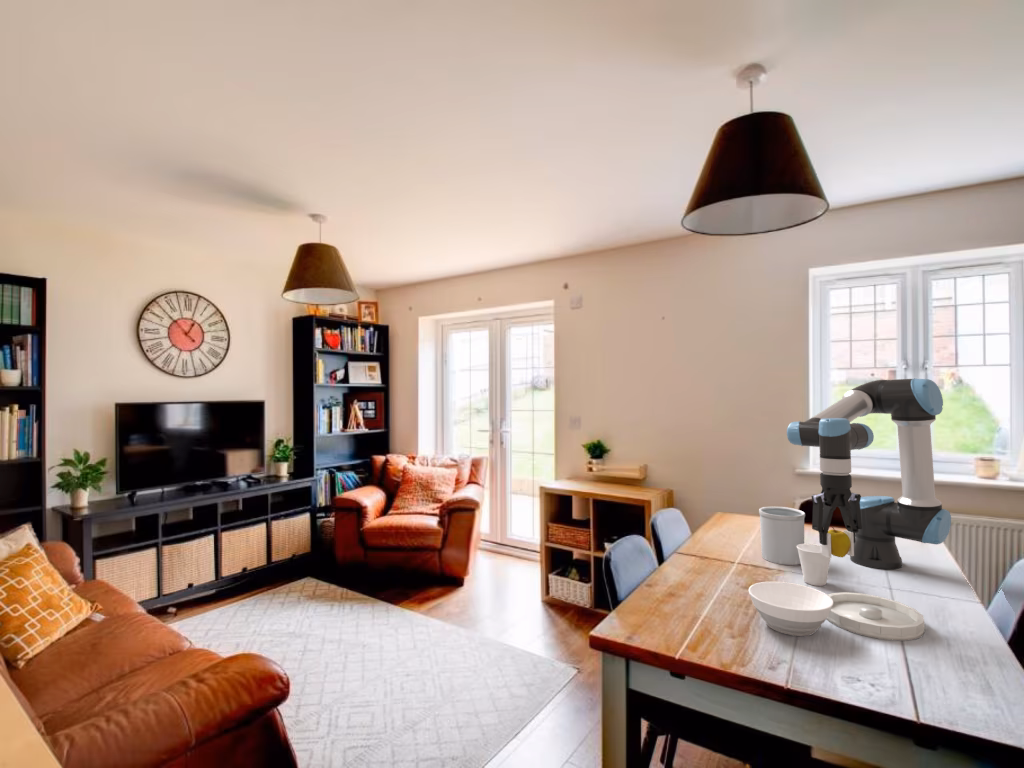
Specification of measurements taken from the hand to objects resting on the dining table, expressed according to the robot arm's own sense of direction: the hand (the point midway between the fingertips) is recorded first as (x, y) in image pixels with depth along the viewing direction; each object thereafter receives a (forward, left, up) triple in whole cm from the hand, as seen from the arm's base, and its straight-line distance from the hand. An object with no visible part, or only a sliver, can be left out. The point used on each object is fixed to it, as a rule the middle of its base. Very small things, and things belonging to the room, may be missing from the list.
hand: (837, 555), depth 146 cm
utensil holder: (-14, -41, -15) cm, 46 cm away
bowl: (+21, +8, -15) cm, 27 cm away
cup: (-8, -18, -15) cm, 25 cm away
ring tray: (-2, +9, -15) cm, 17 cm away
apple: (0, 0, -1) cm, 1 cm away
